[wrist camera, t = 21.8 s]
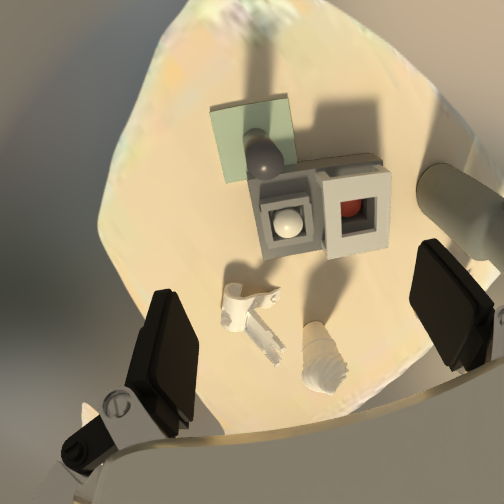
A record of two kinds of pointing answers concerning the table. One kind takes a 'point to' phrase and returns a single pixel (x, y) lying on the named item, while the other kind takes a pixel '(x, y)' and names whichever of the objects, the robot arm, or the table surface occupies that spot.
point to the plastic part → (251, 318)
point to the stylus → (262, 155)
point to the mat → (243, 119)
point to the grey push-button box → (325, 206)
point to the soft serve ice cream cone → (321, 360)
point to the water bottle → (464, 212)
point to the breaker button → (350, 207)
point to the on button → (287, 222)
